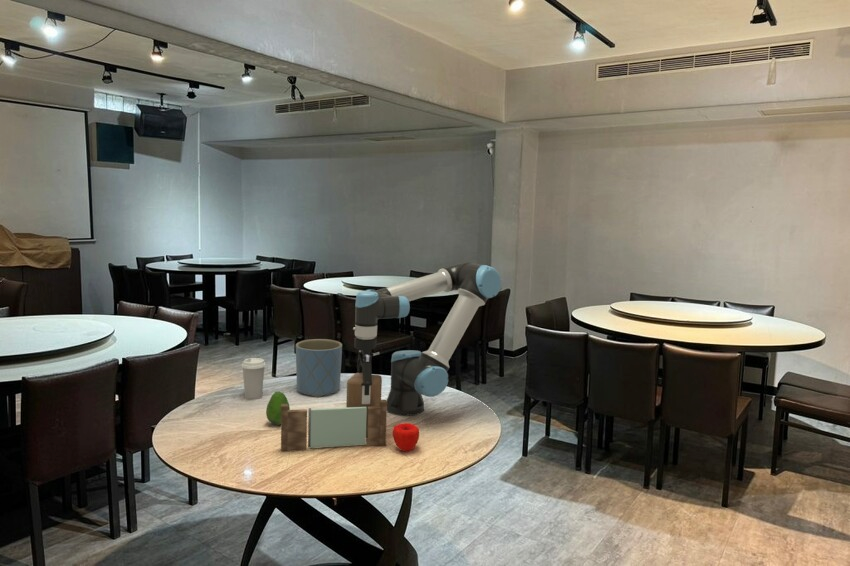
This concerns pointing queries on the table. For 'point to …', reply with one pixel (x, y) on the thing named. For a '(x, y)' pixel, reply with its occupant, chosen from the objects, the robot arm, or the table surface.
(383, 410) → the wall frame
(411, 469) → the table surface
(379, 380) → the wooden block
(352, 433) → the door
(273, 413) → the fruit
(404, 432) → the apple
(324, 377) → the planter
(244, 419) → the table surface
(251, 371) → the coffee cup
